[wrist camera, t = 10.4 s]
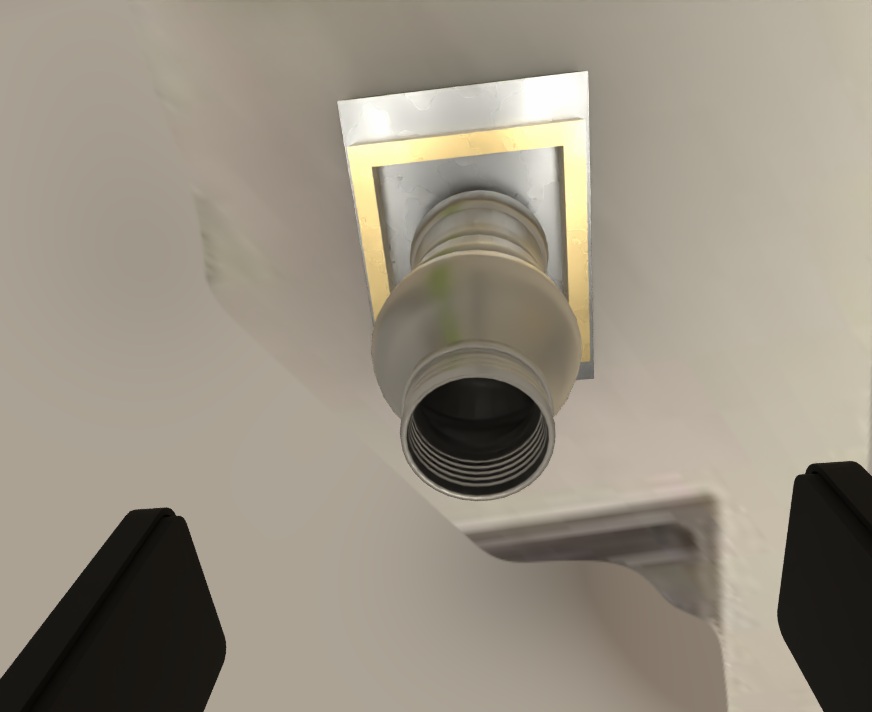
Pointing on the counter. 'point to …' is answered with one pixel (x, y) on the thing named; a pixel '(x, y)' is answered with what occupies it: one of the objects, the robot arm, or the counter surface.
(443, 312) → the plastic bottle
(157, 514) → the robot arm
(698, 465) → the counter surface
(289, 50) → the counter surface
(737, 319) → the counter surface
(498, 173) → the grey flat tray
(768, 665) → the counter surface
